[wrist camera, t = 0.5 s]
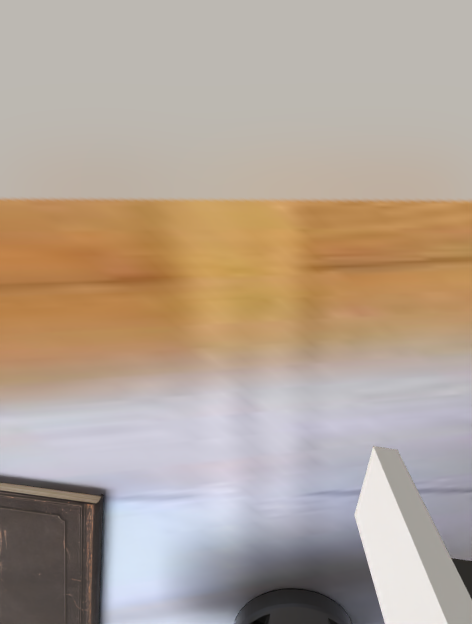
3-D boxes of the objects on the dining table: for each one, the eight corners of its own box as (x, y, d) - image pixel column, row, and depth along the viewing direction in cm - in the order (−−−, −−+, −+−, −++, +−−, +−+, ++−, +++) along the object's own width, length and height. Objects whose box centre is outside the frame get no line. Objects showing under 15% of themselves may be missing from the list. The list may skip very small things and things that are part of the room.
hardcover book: (-20, 614, 58) (-31, 631, 56) (-32, 472, 51) (-45, 486, 49) (100, 631, 58) (94, 649, 56) (105, 491, 51) (98, 506, 49)
